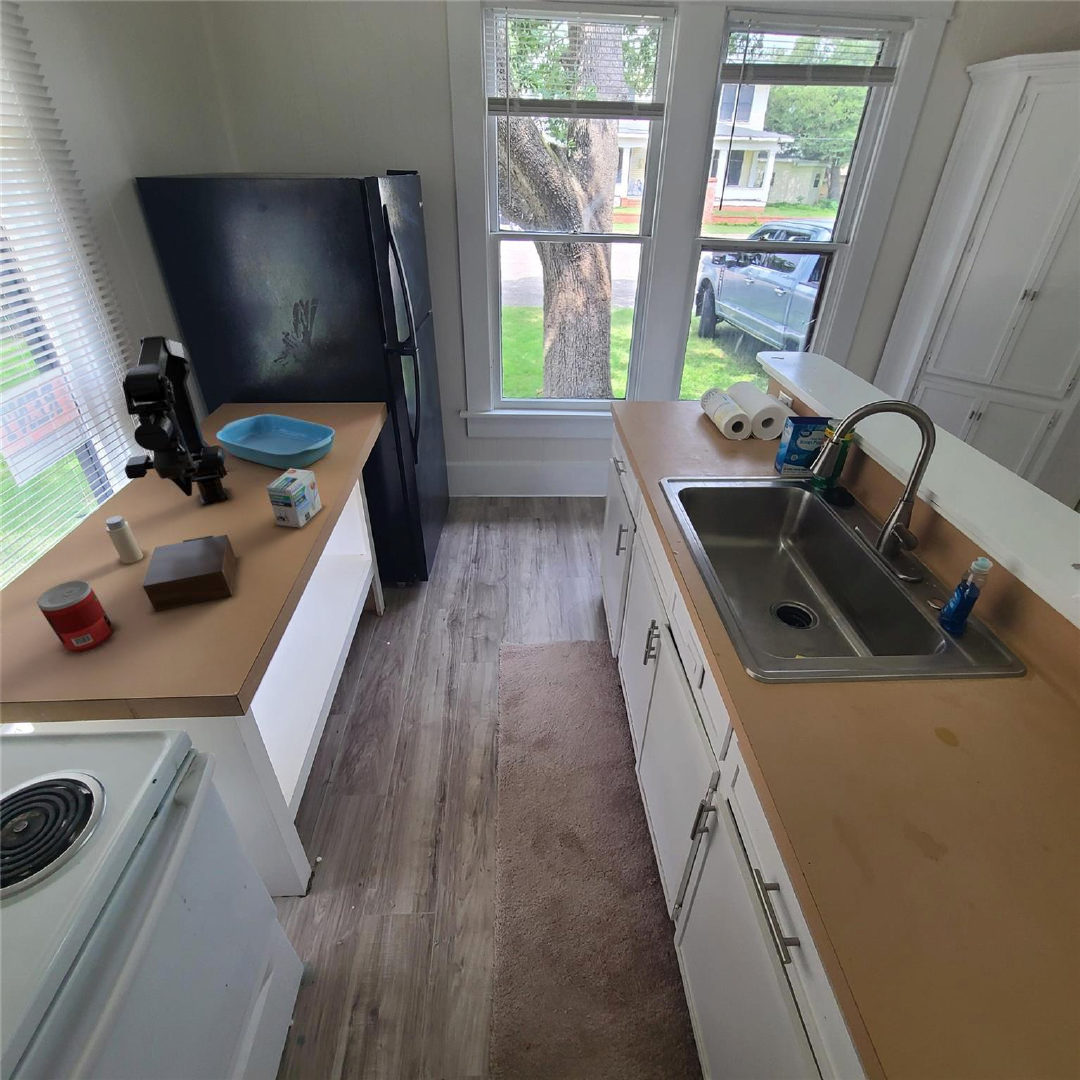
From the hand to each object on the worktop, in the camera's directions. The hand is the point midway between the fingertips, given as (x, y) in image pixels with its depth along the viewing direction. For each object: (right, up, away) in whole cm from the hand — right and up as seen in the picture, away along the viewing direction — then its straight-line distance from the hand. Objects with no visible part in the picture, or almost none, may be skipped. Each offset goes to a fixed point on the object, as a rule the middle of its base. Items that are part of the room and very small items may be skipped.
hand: (189, 495), depth 131 cm
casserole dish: (0, +16, +46) cm, 49 cm away
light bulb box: (+19, -4, +15) cm, 25 cm away
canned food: (-6, -29, -21) cm, 37 cm away
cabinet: (+6, -20, -8) cm, 22 cm away
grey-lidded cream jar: (-13, -14, 0) cm, 19 cm away
